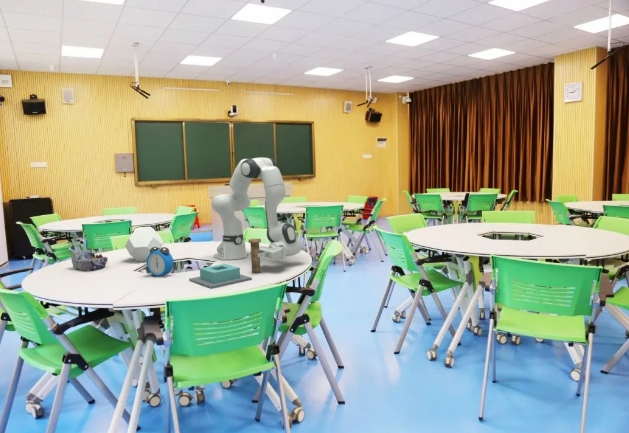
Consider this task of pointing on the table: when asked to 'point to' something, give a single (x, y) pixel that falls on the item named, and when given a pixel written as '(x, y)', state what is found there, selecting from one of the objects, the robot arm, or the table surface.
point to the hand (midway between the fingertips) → (253, 254)
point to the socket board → (211, 285)
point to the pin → (254, 258)
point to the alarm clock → (159, 261)
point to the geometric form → (143, 242)
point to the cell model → (87, 260)
